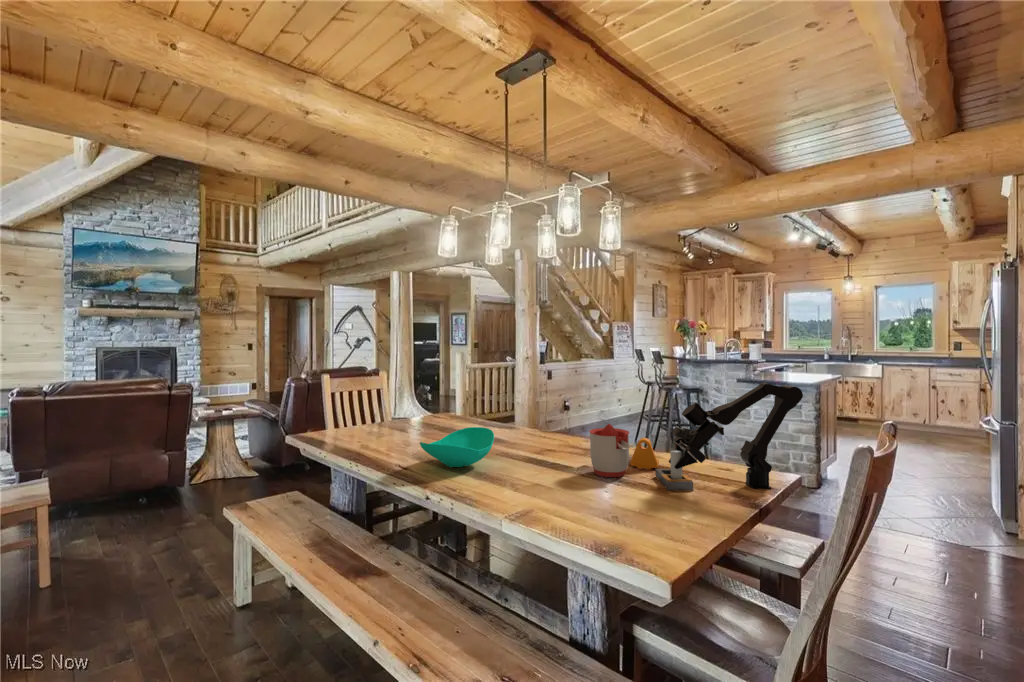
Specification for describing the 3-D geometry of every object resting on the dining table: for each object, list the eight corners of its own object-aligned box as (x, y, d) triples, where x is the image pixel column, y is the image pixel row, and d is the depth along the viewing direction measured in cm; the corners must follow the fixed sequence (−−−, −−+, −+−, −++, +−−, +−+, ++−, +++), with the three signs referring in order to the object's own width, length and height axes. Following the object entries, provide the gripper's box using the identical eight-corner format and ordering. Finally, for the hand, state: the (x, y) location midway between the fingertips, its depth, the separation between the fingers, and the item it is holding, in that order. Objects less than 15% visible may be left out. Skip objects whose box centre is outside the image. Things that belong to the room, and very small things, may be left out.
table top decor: (460, 482, 179) (460, 447, 179) (402, 473, 191) (402, 441, 191) (508, 458, 214) (508, 429, 214) (457, 452, 227) (456, 425, 227)
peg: (678, 484, 173) (678, 450, 173) (684, 487, 169) (684, 452, 169) (668, 485, 172) (668, 450, 172) (674, 488, 168) (674, 453, 168)
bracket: (659, 465, 199) (658, 437, 199) (657, 470, 193) (657, 440, 193) (633, 463, 203) (632, 435, 203) (630, 467, 197) (630, 439, 197)
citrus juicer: (611, 483, 175) (610, 429, 175) (581, 472, 190) (581, 423, 190) (641, 476, 183) (641, 425, 183) (611, 466, 198) (610, 419, 198)
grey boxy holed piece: (678, 476, 183) (678, 468, 183) (693, 490, 166) (693, 481, 166) (655, 476, 183) (655, 468, 183) (667, 490, 166) (667, 481, 166)
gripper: (678, 415, 180) (649, 444, 180) (695, 423, 161) (663, 456, 162) (700, 435, 180) (671, 464, 180) (719, 446, 161) (686, 478, 161)
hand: (672, 465), depth 171 cm, fingers open, 7 cm apart
